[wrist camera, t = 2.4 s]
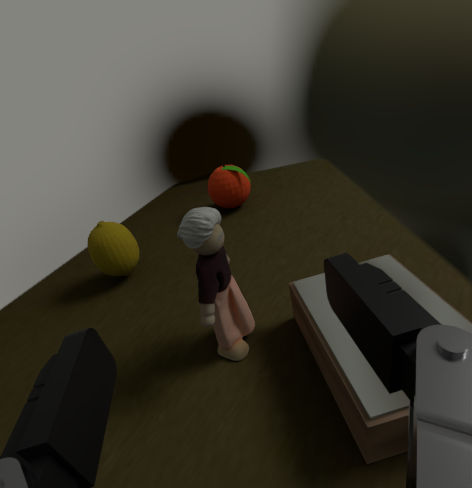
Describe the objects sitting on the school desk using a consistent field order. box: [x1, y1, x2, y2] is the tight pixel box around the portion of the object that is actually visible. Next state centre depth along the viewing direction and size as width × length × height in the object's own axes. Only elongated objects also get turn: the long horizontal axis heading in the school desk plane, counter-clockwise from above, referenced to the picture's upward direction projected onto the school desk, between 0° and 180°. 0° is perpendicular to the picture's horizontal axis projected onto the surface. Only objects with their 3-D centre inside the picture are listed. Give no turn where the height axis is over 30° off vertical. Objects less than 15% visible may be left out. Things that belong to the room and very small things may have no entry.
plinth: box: [289, 254, 472, 464], centre depth 21 cm, size 9×12×4 cm
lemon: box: [88, 221, 139, 276], centre depth 37 cm, size 6×6×8 cm
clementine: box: [208, 165, 251, 208], centre depth 48 cm, size 8×7×7 cm
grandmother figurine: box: [177, 207, 255, 361], centre depth 24 cm, size 8×4×13 cm, turn 3°
